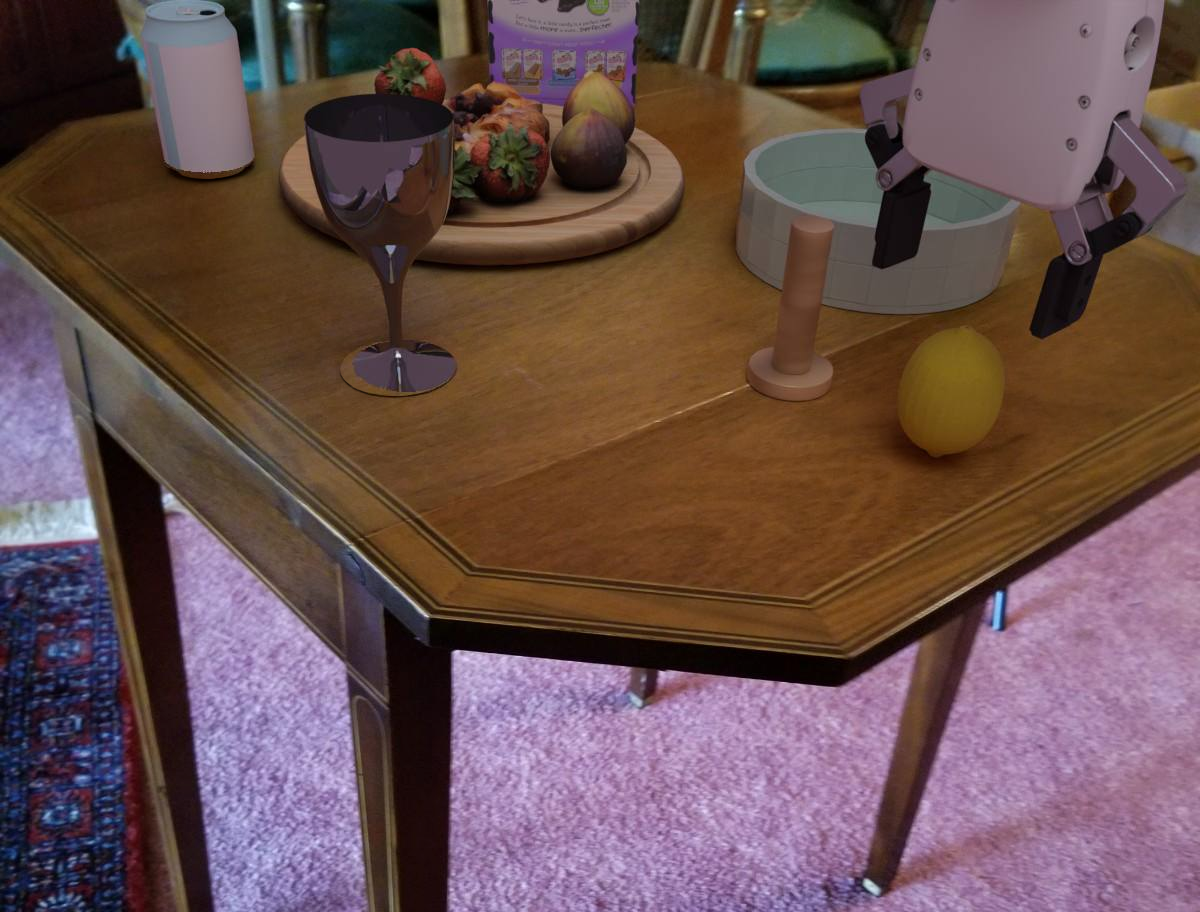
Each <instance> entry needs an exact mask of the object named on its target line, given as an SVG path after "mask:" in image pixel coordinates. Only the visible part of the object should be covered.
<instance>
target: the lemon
mask: <svg viewBox="0 0 1200 912" xmlns="http://www.w3.org/2000/svg"><path fill="white" fill-rule="evenodd" d="M1005 372H1006V371H1005V365H1004V362H1003V358H1002V355H1001V353H1000V352H999V350H998V349H997V347H996V346H995V345H994V344H993V343H992V341H991V340H990V339H989V338H988V337H986V336H985V335H983V334H982V333H980V332H978V331H976V330H975V329H974V328H973V326H970V325H967V324H964V325H961V326H959V327H954V328H947V329H943V330H940V331H938V332H935V333H933V334H932V335H930V336H929V337H927V338H926V339H924V340H923V341H922V342H921V343H920V344H919V345H918V346H917V348H916V349H915V350H914V351H913V352H912V354H911V356H910V358H909V359H908V361H907V363H906V365H905V367H904V369H903V372H902V374H901V377H900V381H899V383H898V390H897V401H896V409H897V417H898V421H899V423H900V426H901V428H902V430H903V432H904V434H905V435H906V436H907V437H908V438H909V440H910V441H911V442H912V443H913V444H915V445H916V446H917V447H918V448H920V449H922V450H924V451H926V452H927V454H928V455H929V456H930V457H932V458H940V457H943V456H944V455H954V454H958V453H962V452H965V451H967V450H969V449H971V448H972V447H973V448H974V446H976V445H977V444H979V443H980V442H981V441H982V440H983V439H984V438H985V437H986V436H987V434H988V433H989V432H990V431H991V429H992V428H993V426H994V424H995V423H996V421H997V419H998V416H999V414H1000V411H1001V409H1002V408H1001V407H1002V404H1003V400H1004V396H1005V388H1006V373H1005Z"/></svg>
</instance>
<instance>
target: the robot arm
mask: <svg viewBox="0 0 1200 912" xmlns="http://www.w3.org/2000/svg"><path fill="white" fill-rule="evenodd" d="M1164 9H1165V0H935V2H934V5H933V8H932V11H931V13H930V16H929V20H928V23H927V27H926V30H925V33H924V35H923V39H922V43H921V47H920V50H919V53H918V57H917V61H916V64H915V66H914V67H911V68H908V69H905V70H902V71H899V72H895V73H892V74H889V75H886V76H882V77H879V78H876V79H874V80H869V81H867V82H864V83H863V84H861V86H860V88H859V91H858V94H859V95H858V97H859V101H860V107H861V112H862V118H863V123H864V126H866V130H867V131H866V133H865V142H866V145H867V147H868V150H869V152H870V154H871V156H872V158H873V161H874V163H875V165H876V167H877V169H878V171H877V173H876V183H877V186H878V187H879V188H880V189H881V190H884V192H883V197H882V202H881V207H880V212H879V217H878V222H877V227H876V232H875V242H876V245H875V250H874V254H873V259H872V265H873V266H875V267H877V268H879V269H881V270H882V269H885V268H889V267H891V266H894V265H896V264H899V263H901V262H904V261H906V260H909V259H911V258H914V257H915V256H916V255H917V253H918V249H919V245H920V240H921V236H922V232H923V227H924V223H925V218H926V214H927V210H928V205H929V201H930V196H931V189H930V187H931V184H930V183H928V182H925V181H924V177H925V176H926V175H927V174H928V173H929V172H931V171H932V170H935V171H937V172H940V173H942V174H945V175H948V176H950V177H953V178H956V179H958V180H961V181H964V182H966V183H969V184H972V185H974V186H977V187H980V188H983V189H985V190H988V191H991V192H993V193H996V194H999V195H1002V196H1004V197H1007V198H1010V199H1013V200H1015V201H1018V202H1021V203H1022V204H1025V205H1027V206H1029V207H1034V208H1037V209H1040V210H1044V211H1049V214H1050V217H1051V220H1052V222H1053V225H1054V228H1055V231H1056V233H1057V234H1056V235H1057V237H1058V239H1059V242H1060V244H1061V247H1062V251H1063V253H1062V254H1060V255H1057V256H1056V257H1053V258H1052V259H1051V260H1050V261H1049V263H1048V266H1047V269H1046V272H1045V276H1044V278H1043V282H1042V285H1041V286H1042V287H1041V289H1040V291H1039V295H1038V299H1037V302H1036V305H1035V306H1036V307H1035V309H1034V312H1033V315H1032V319H1031V322H1030V325H1029V332H1031V333H1030V334H1031V336H1033V337H1035V338H1037V339H1040V340H1045V339H1046V338H1048V337H1051V336H1052V335H1054V334H1056V333H1059V332H1060V331H1062V330H1064V329H1066V328H1068V327H1070V326H1071V325H1072V324H1074V323H1076V322H1077V321H1079V320H1080V319H1081V318H1082V317H1083V314H1084V313H1085V311H1086V309H1087V306H1088V303H1089V300H1090V297H1091V294H1092V291H1093V288H1094V285H1095V282H1096V278H1097V276H1098V273H1099V270H1100V268H1101V264H1102V261H1103V257H1104V255H1106V254H1108V253H1110V252H1112V251H1114V250H1116V249H1118V248H1120V247H1122V246H1124V245H1126V244H1127V243H1129V242H1131V241H1134V240H1136V239H1137V238H1140V237H1142V236H1144V235H1145V234H1147V233H1149V232H1150V231H1152V230H1153V227H1154V225H1156V223H1158V221H1160V220H1162V219H1163V217H1164V216H1165V215H1166V214H1167V213H1169V212H1170V211H1171V210H1172V209H1173V208H1174V207H1175V206H1176V205H1177V203H1179V202H1180V201H1181V200H1182V199H1183V198H1184V197H1185V196H1186V195H1187V193H1188V188H1189V186H1188V185H1189V184H1188V182H1187V180H1186V178H1185V177H1184V176H1183V175H1182V174H1181V173H1180V172H1179V170H1177V168H1176V167H1175V166H1174V165H1173V164H1172V163H1171V162H1170V161H1169V160H1168V159H1167V157H1165V155H1164V154H1163V153H1162V152H1161V151H1160V150H1159V149H1158V148H1157V147H1156V146H1155V144H1154V143H1153V142H1152V141H1151V140H1150V139H1149V138H1148V137H1147V135H1146V134H1145V133H1144V132H1143V131H1142V130H1141V129H1140V127H1141V123H1142V120H1143V115H1144V112H1145V109H1146V108H1145V107H1146V104H1147V100H1148V95H1149V91H1150V86H1151V84H1152V78H1153V74H1154V68H1155V65H1156V64H1155V63H1156V59H1157V53H1158V48H1159V42H1160V36H1161V31H1162V29H1161V28H1162V23H1163V17H1164V16H1163V15H1164ZM905 98H907V102H906V106H905V111H904V112H905V113H904V116H903V117H904V118H903V124H901V123H900V122H898V120H897V117H898V111H897V110H898V107H897V106H898V104H899V102H900V101H901V100H902V99H905ZM1125 177H1126V178H1127V180H1128V181H1129V182H1130V183H1131V184H1132V185H1133V187H1134V188H1135V193H1136V194H1135V198H1134V200H1133V201H1132V202H1131V203H1129V205H1128V207H1127V208H1126V209H1125V210H1124V211H1123V212H1122V213H1121V214H1120V215H1118V216H1116V217H1114V216H1113V213H1112V210H1111V206H1110V205H1109V201H1108V199H1107V196H1106V194H1110V193H1113V192H1114V191H1116V190H1117V189H1118V188H1119V187H1120V186H1121V184H1122V182H1123V180H1124V179H1125Z"/></svg>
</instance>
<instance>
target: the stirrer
mask: <svg viewBox="0 0 1200 912" xmlns="http://www.w3.org/2000/svg"><path fill="white" fill-rule="evenodd" d="M833 230H834V224H833V223H832V222H831V221H830V220H828V219H825V218H822V217H818V216H800V217H796V218H794V219H793V220H792V223H791V230H790V237H789V244H788V251H787V258H786V265H785V272H784V279H783V286H782V290H781V295H780V301H779V309H778V315H777V321H776V329H775V330H776V331H775V337H774V344H773V346H770V347H769V346H768V347H765V348H762V349H760V350H757V351H756V352H755V353H753V354H752V355H751V356H750V358H749V360H748V365H747V372H746V377H747V378H746V379H747V382H748V383H749V385H750V386H751V387H752V388H753V389H754V390H756V391H757V392H759V393H761V394H763V395H764V396H767V397H770V398H773V399H777V400H781V401H787V402H806V401H811V400H815V399H818V398H821V397H823V396H824V395H826V394H827V393H828V392H829V390H831V388H832V384H833V383H832V382H833V378H834V377H833V376H834V367H833V365H832V363H831V362H830V361H829V360H828V359H827V358H826V357H825V356H823V355H822V354H821V353H818V352H815V351H814V350H815V346H816V339H817V333H818V327H819V320H820V314H821V308H822V304H821V303H822V297H823V291H824V285H825V279H826V273H827V267H828V260H829V254H830V248H831V242H832V236H833Z"/></svg>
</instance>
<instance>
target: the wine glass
mask: <svg viewBox="0 0 1200 912" xmlns="http://www.w3.org/2000/svg"><path fill="white" fill-rule="evenodd" d="M303 125H304V136H306V145H307V151H308V157H309V163H310V169H311V173H312V176H313V180H314V184H315V188H316V191H317V195H318V198H319V200H320V203H321V206H322V209H323V212H324V214H325V216H326V218H327V220H328V222H329V224H330V225H331V226H332V228H333V229H334V230H335V231H336V233H337V234H338V235H339V236H340V237H341V238H342V239H343V240H344V241H345V242H344V241H343V242H344V243H345V244H347V245H348V246H349V247H350V248H351V249H352V250H353V251H355V252H356V253H357V255H359V256H360V257H361V258H362V259H363V260H364V261H365V262H366V263H367V265H369V267H370V268H371V269H372V271H373V272H374V274H375V276H376V277H377V279H378V281H379V284H380V287H381V292H382V295H383V300H384V304H385V309H386V315H387V322H388V333H389V340H390V341H389V342H383V343H378V344H375V345H371V346H370V347H368V348H366V349H365V350H363V351H362V350H361V352H360V353H359V354H357V355H356V356H355V359H354V361H353V363H352V366H353V365H354V372H355V374H356V376H357V377H359V376H360V377H361V378H362V379H363V380H364V381H366V382H367V383H369V384H371V385H373V386H375V387H378V388H380V387H381V386H382V389H384V388H385V387H386V390H388V389H389V390H390V391H391V390H392V391H397V392H416V391H423V390H428V389H432V388H434V387H437V386H439V385H441V384H442V383H444V382H446V381H447V380H448V379H449V378H450V379H451V378H452V376H453V375H454V373H455V372H456V373H457V370H456V369H457V368H458V363H457V361H456V359H455V357H454V356H453V355H452V353H451V352H449V351H448V350H447V349H445V348H443V347H442V346H439V345H436V344H434V343H432V342H428V343H427V341H424V340H417V341H415V340H416V339H407V340H403V339H404V336H403V322H402V319H403V318H402V317H403V316H402V311H403V310H402V308H403V291H404V285H405V280H406V277H407V274H408V271H409V269H410V267H411V266H412V265H413V263H414V261H415V260H416V259H415V258H416V257H417V256H418V255H419V254H420V252H421V251H422V250H423V249H424V248H425V246H426V245H427V244H428V243H429V242H430V241H431V239H432V238H433V237H434V236H435V235H436V234H437V232H438V231H439V229H440V228H441V226H442V224H443V223H444V220H445V218H446V215H447V212H448V209H449V204H450V199H451V194H452V188H453V179H454V169H455V135H454V118H453V114H452V112H451V111H450V110H449V109H448V108H447V107H445V106H444V105H442V104H440V103H437V102H435V101H432V100H428V99H425V98H420V97H415V96H408V95H400V94H376V93H363V94H362V93H361V94H353V95H347V96H340V97H336V98H332V99H328V100H325V101H322V102H319V103H318V104H316V105H314V106H312V107H311V108H309V109H308V110H307V111H306V113H305V114H304V116H303ZM423 341H424V342H423ZM430 343H431V344H430ZM352 366H351V367H352ZM456 366H457V367H456ZM456 373H455V374H456ZM454 376H455V375H454ZM454 376H453V377H454ZM450 379H449V380H450ZM452 379H453V378H452ZM452 379H451V380H452ZM451 380H450V381H451Z"/></svg>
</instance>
